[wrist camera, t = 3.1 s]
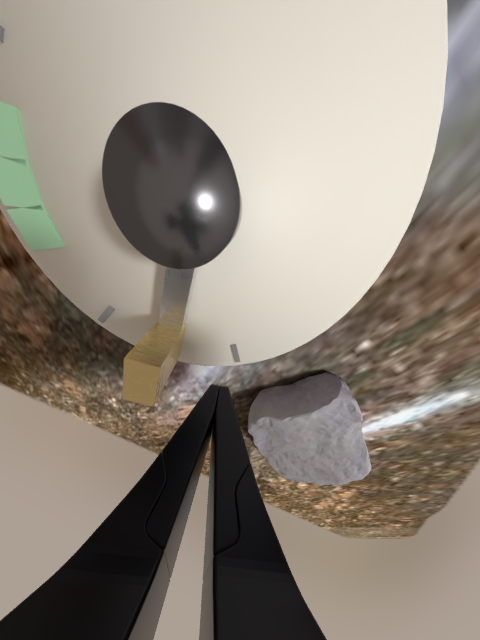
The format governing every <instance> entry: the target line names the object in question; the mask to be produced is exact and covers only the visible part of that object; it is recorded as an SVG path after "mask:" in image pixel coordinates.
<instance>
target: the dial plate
mask: <svg viewBox="0 0 480 640" xmlns="http://www.w3.org/2000/svg"><path fill="white" fill-rule="evenodd" d="M447 59H448V37H447V0H0V209H1V211H2V213H3V215H4V217H5V219H6V220H7V222H8V224H9V225H10V227H11V228H12V230H13V231H14V233H15V234H16V236H17V237H18V239H19V240H20V242H21V244H22V245H23V247H24V248H25V250H26V251H27V252H28V253H29V255H30V256H31V257H32V259H33V260H34V261H35V262H36V264H37V265H38V266H39V268H40V269H41V270H42V271H43V273H44V274H45V275H46V276H47V277H48V278H49V279H50V280H51V281H52V283H53V284H54V285H55V286H56V287H57V288H58V289H59V290H60V291H61V292H62V293H63V294H64V295H65V296H66V297H67V298H68V299H69V300H70V301H71V302H72V303H73V304H74V305H76V306H77V307H78V308H79V309H80V310H81V311H82V312H84V313H85V314H86V315H87V316H89V317H90V318H91V319H93V320H94V321H95V322H96V323H98V324H99V325H101V326H102V327H104V328H105V329H107V330H108V331H110V332H111V333H113V334H114V335H116V336H117V337H119V338H121V339H123V340H125V341H127V342H128V343H130V344H132V345H134V346H135V345H136V344H137V343H138V342H139V341H140V340H141V339H142V338H143V337H144V336H145V335H146V334H147V332H148V331H149V330H150V329H151V328H152V327H153V326H154V325H155V324H156V323H157V322H158V321H159V316H160V308H161V301H162V294H163V286H164V279H165V272H166V267H165V266H162V265H160V264H158V263H155V262H154V261H152V260H150V259H148V258H147V257H145V256H144V255H142V254H141V253H140V252H139V251H138V250H137V249H135V248H134V247H133V246H132V245H131V243H130V242H129V241H128V240H127V239H126V238H125V236H124V235H123V234H122V232H121V231H120V229H119V228H118V226H117V224H116V222H115V220H114V219H113V217H112V214H111V212H110V209H109V207H108V204H107V201H106V197H105V193H104V188H103V180H102V160H103V153H104V149H105V145H106V142H107V139H108V137H109V135H110V133H111V131H112V129H113V127H114V126H115V124H116V123H117V122H118V121H119V119H120V118H121V117H122V116H123V115H124V114H126V113H127V112H128V111H130V110H131V109H133V108H135V107H137V106H139V105H142V104H146V103H151V102H165V103H171V104H175V105H177V106H180V107H183V108H185V109H187V110H189V111H190V112H192V113H194V114H195V115H197V116H198V117H199V118H201V119H202V120H203V121H204V122H205V123H206V124H207V125H208V126H209V127H210V128H211V129H212V130H213V131H214V132H215V134H216V135H217V136H218V138H219V139H220V140H221V142H222V144H223V145H224V147H225V149H226V150H227V153H228V155H229V157H230V159H231V161H232V164H233V167H234V170H235V174H236V177H237V181H238V185H239V188H240V193H241V198H242V217H241V222H240V226H239V228H238V231H237V233H236V235H235V237H234V238H233V240H232V241H231V242H230V243H229V245H228V246H227V247H226V248H225V249H224V250H223V251H222V252H221V253H220V254H219V255H218V256H217V257H216V258H214V259H213V260H212V261H210V262H209V263H207V264H205V265H202V266H200V267H198V270H197V274H196V279H195V283H194V288H193V292H192V296H191V301H190V305H189V310H188V314H187V319H186V324H187V326H186V330H185V334H184V339H183V343H182V347H181V352H180V356H179V359H178V360H177V361H179V362H184V363H189V364H196V365H204V366H232V365H242V364H248V363H254V362H259V361H262V360H266V359H270V358H273V357H276V356H279V355H281V354H284V353H286V352H289V351H291V350H293V349H295V348H297V347H299V346H301V345H303V344H305V343H307V342H309V341H310V340H312V339H313V338H315V337H316V336H318V335H319V334H321V333H323V332H324V331H326V330H327V329H328V328H329V327H331V326H332V325H333V324H334V323H336V322H337V321H338V320H339V319H340V318H342V317H343V316H344V315H345V314H346V313H347V312H348V311H349V310H350V309H351V308H352V307H353V306H354V305H355V304H356V303H357V302H358V301H359V300H360V299H361V298H362V297H363V295H364V294H365V293H366V292H367V290H368V289H369V288H370V287H371V286H372V284H373V283H374V282H375V281H376V280H377V278H378V277H379V275H380V274H381V272H382V271H383V269H384V268H385V266H386V265H387V263H388V262H389V260H390V259H391V257H392V256H393V254H394V252H395V250H396V248H397V247H398V245H399V243H400V241H401V239H402V237H403V235H404V233H405V231H406V230H407V228H408V226H409V223H410V221H411V219H412V216H413V214H414V211H415V209H416V206H417V204H418V202H419V199H420V197H421V194H422V192H423V188H424V185H425V182H426V178H427V175H428V172H429V169H430V165H431V162H432V159H433V155H434V151H435V146H436V141H437V136H438V131H439V126H440V121H441V116H442V110H443V103H444V92H445V81H446V70H447Z"/></svg>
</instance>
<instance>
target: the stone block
mask: <svg viewBox="0 0 480 640" xmlns="http://www.w3.org/2000/svg"><path fill="white" fill-rule="evenodd" d="M362 420H363V418H362V413H361V410H360V408H359V406H358V404H357V402H356V400H355V398H354V396H353V395H352V393H351V392H350V389H349V387H348V386H347V385H346V383H345V381H344V380H343V379H341V377H338V376H336V375H333V374H331V373H329V372H325V373H323V374H319V375H314V376H309V377H307V378H305V379H302V380H299V381H297V382H295V383H294V384H290V385H284V386H275V387H271V388H267V389H263V390H261V391H260V392H259V394H258V395H257V397H256V398H255V400H254V401H253V403H252V405H251V407H250V412H249V416H248V431H249V433H250V434H251V435H252V436H253V442H254V444H255V446H257V448H258V450H259V451H260V452H261V453H262V454H263V455H264V456H265V457H266V458H267V461H268V462H269V463H270V465H271V466H272V467H273V468H274V469H275V470H276V472H278V473H279V474H280V475H281V476H283V477H286V478H288V479H290V480H292V481H295V482H305V483H314V484H317V485H320V486H322V485H329V484H334V485H342V484H346V483H348V482H350V481H356V480H362V479H363V478H364V477H365V476H366V475H367V474H368V473H369V472H370V470H371V464H370V460H369V454H368V450H367V447H366V444H365V441H364V438H363V434H362V426H361V422H362Z"/></svg>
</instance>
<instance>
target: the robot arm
mask: <svg viewBox="0 0 480 640" xmlns="http://www.w3.org/2000/svg"><path fill="white" fill-rule="evenodd" d="M219 387H220V388H219ZM212 429H213V431H212ZM211 434H212V440H211V456H210V473H209V489H208V505H207V506H208V507H207V523H206V538H205V555H204V572H203V586H202V604H201V619H200V635H199V636H200V637H199V640H327V639H326V638H325V636H324V634H323V633H322V631H321V629H320V627H319V625H318V624H317V622H316V620H315V618H314V617H313V615H312V613H311V611H310V610H309V608H308V606H307V604H306V603H305V601H304V599H303V597H302V595H301V592H300V590H299V588H298V586H297V584H296V582H295V580H294V577H293V575H292V573H291V570H290V568H289V566H288V563H287V561H286V558H285V556H284V553H283V551H282V548H281V546H280V543H279V541H278V538H277V536H276V533H275V531H274V528H273V526H272V523H271V521H270V518H269V516H268V513H267V511H266V508H265V505H264V502H263V500H262V497H261V494H260V492H259V488H258V485H257V482H256V479H255V476H254V473H253V469H252V466H251V464H250V459H249V456H248V452H247V449H246V445H245V442H244V439H243V435H242V432H241V428H240V425H239V422H238V418H237V415H236V411H235V408H234V404H233V401H232V398H231V394H230V391H229V388H228V387H227V386H219V385H214V384H212V385H210V387H209V388H208V389H207V391H206V392H205V393H204V395H203V396H202V398H201V399H200V400H199V402H198V403H197V404H196V406H195V407H194V408H193V410H192V411H191V412H190V414H189V415H188V416H187V418H186V419H185V421H184V422H183V423H182V425H181V426H180V427H179V429H178V430H177V431H176V433H175V434H174V435H173V437H172V438H171V439H170V441H169V442H168V444H167V445H166V446H165V448H164V449H163V450H162V453H160V454H159V456H158V457H157V458H156V460H155V461H154V462H153V464H152V465H151V466H150V467H149V469H148V470H147V471H146V473H145V474H144V475H143V477H142V478H141V479H140V480H139V481H138V483H137V484H136V485H135V486H134V487H133V488H132V490H131V491H130V492H129V493H128V494H127V496H126V497H125V498H124V499H123V500H122V501H121V502H120V503H119V505H118V506H117V507H116V508H115V509H114V510H113V512H112V513H111V514H110V515H109V516H108V517H107V518H106V519H105V520H104V522H103V523H102V524H101V525H100V526H99V527H98V528H97V529H96V531H95V532H94V533H93V534H92V535H91V536H90V537H89V539H88V540H87V541H86V542H85V543H84V544H83V545H82V546H81V548H80V549H79V550H78V551H77V552H76V553H75V554H74V555H73V556H72V557H71V558H70V559H69V560H68V561H67V562H66V563H65V564H64V565H63V566H62V567H61V568H60V569H59V570H58V571H57V572H56V573H55V574H54V575H53V576H52V577H50V578H49V579H48V580H47V581H46V582H45V583H44V584H42V585H41V586H40V587H39V588H38V589H37V590H35V591H34V592H33V593H32V594H31V595H30V596H29V597H27V598H26V599H25V600H24V601H23V602H22V603H20V604H19V605H18V606H17V607H16V608H15V609H13V611H11V612H10V613H9V614H8V615H6V616H5V617H4V618H3V619H2V620H1V621H0V640H153V638H154V635H155V631H156V628H157V624H158V620H159V617H160V613H161V610H162V607H163V603H164V599H165V596H166V593H167V589H168V586H169V582H170V578H171V575H172V571H173V568H174V564H175V561H176V557H177V554H178V551H179V547H180V544H181V540H182V536H183V533H184V530H185V526H186V522H187V519H188V515H189V512H190V508H191V505H192V501H193V498H194V494H195V491H196V487H197V484H198V480H199V476H200V473H201V470H202V466H203V463H204V459H205V456H206V452H207V449H208V445H209V442H210V438H211Z"/></svg>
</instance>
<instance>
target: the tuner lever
mask: <svg viewBox="0 0 480 640" xmlns="http://www.w3.org/2000/svg"><path fill="white" fill-rule="evenodd" d="M102 180H103V188H104V193H105V197H106V201H107V204H108V207H109V209H110V212H111V214H112V217H113V219H114V220H115V222H116V224H117V226H118V228H119V229H120V231H121V232H122V234H123V235H124V236H125V238H126V239H127V240H128V241H129V242H130V243H131V245H132V246H133V247H134V248H135V249H137V250H138V251H139V252H140V253H141V254H142V255H144V256H145V257H147V258H148V259H150V260H152V261H154V262H155V263H158V264H160V265H162V266H165V267H166V272H165V279H164V286H163V294H162V301H161V308H160V316H159V321H158V322H157V323H156V324H155V325H154V326H153V327H152V328H151V329H150V330H149V331H148V332H147V334H146V335H145V336H144V337H143V338H142V339H141V340H140V341H139V342H138V343H137V344H136V345H135V347H134V348H133V349H132V350H131V351H130V352H129V353H128V354H127V355H126V356H125V357H124V373H123V399H124V400H128V401H132V402H136V403H140V404H144V405H148V406H152V407H154V405H155V403H156V401H157V399H158V397H159V395H160V393H161V391H162V389H163V387H164V385H165V384H166V382H167V380H168V378H169V376H170V374H171V372H172V370H173V368H174V366H175V364H176V362H177V360H178V359H179V356H180V352H181V347H182V343H183V339H184V334H185V330H186V326H187V324H186V319H187V314H188V310H189V305H190V301H191V296H192V292H193V288H194V283H195V279H196V274H197V270H198V267H200V266H202V265H205V264H207V263H209V262H210V261H212V260H213V259H214V258H216V257H217V256H218V255H219V254H220V253H221V252H222V251H223V250H224V249H225V248H226V247H227V246H228V245H229V243H230V242H231V241H232V240H233V238H234V237H235V235H236V233H237V231H238V228H239V226H240V222H241V217H242V198H241V193H240V188H239V185H238V181H237V177H236V174H235V170H234V167H233V164H232V161H231V159H230V157H229V155H228V153H227V150H226V149H225V147H224V145H223V144H222V142H221V140H220V139H219V138H218V136H217V135H216V134H215V132H214V131H213V130H212V129H211V128H210V127H209V126H208V125H207V124H206V123H205V122H204V121H203V120H202V119H201V118H199V117H198V116H197V115H195V114H194V113H192V112H190V111H189V110H187V109H185V108H183V107H180V106H177V105H175V104H171V103H165V102H151V103H146V104H142V105H139V106H137V107H135V108H133V109H131V110H130V111H128V112H127V113H126V114H124V115H123V116H122V117H121V118H120V119H119V121H118V122H117V123H116V124H115V126H114V127H113V129H112V131H111V133H110V135H109V137H108V139H107V142H106V145H105V149H104V153H103V160H102Z"/></svg>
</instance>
